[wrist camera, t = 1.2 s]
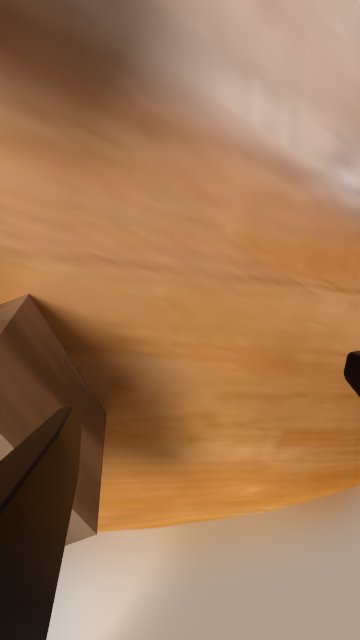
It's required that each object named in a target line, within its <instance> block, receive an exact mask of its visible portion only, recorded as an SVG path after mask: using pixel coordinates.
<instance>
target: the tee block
mask: <svg viewBox="0 0 360 640" xmlns="http://www.w3.org/2000/svg"><path fill="white" fill-rule="evenodd" d="M69 406H72V407H74V409H75V411H76V414H77V417H78V419H79V422H80V425H81V432H82V434H81V448H80V462H79V475H78V482H77V487H76V492H75V497H74V502H73V507H72V512H71V517H70V522H69V527H68V532H67V537H66V542H65V545H68V544H71V543H74V542H77V541H80V540H82V539H85V538H88V537H91V536H93V535H97V525H98V512H99V500H100V487H101V474H102V461H103V449H104V436H105V423H106V413H105V411H104V410H103V408H102V406H101V405H100V403H99V402H98V400H97V399H96V397H95V396H94V394H93V392H92V391H91V389H90V388H89V386H88V385H87V383H86V382H85V380H84V379H83V377H82V375H81V374H80V372H79V371H78V369H77V368H76V366H75V365H74V363H73V361H72V360H71V358H70V357H69V355H68V354H67V352H66V351H65V349H64V348H63V346H62V344H61V343H60V341H59V340H58V338H57V337H56V335H55V334H54V332H53V331H52V329H51V327H50V326H49V324H48V323H47V321H46V320H45V318H44V317H43V315H42V313H41V312H40V310H39V309H38V307H37V306H36V304H35V303H34V301H33V300H32V298H31V296H30V295H29V294H28V295H25V296H22V297H19V298H17V299H14V300H11V301H9V302H6V303H3V304H0V461H1V460H2V459H3V458H4V457H5V456H6V455H7V454H8V453H10V452H11V451H12V450H13V449H14V448H15V447H16V446H18V445H19V444H20V443H21V442H22V441H23V440H24V439H25V438H27V437H28V436H29V435H30V434H31V433H32V432H33V431H35V430H36V429H37V428H38V427H39V426H40V425H41V424H42V423H44V422H45V421H46V420H47V419H48V418H49V417H50V416H51V415H53V414H54V413H55V412H56V411H57V410H58V409H60V408H64V407H69Z"/></svg>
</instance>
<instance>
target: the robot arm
mask: <svg viewBox="0 0 360 640" xmlns="http://www.w3.org/2000/svg"><path fill="white" fill-rule="evenodd" d="M344 376H345V379H346V381H347V382H348V383H349V384H350V386H351V387H352V388H353V389H354V391H355V392H356V393H357V394H358V396H359V397H360V351H354V352H350V353H349V354H348V355H347V359H346V364H345V368H344ZM81 434H82V432H81V425H80V422H79V419H78V417H77V414H76V411H75V409H74V407H72V406H69V407H64V408H60V409H58V410H57V411H56V412H55V413H54V414H53V415H51V416H50V417H49V418H48V419H47V420H46V421H45V422H44V423H42V424H41V425H40V426H39V427H38V428H37V429H36V430H35V431H33V432H32V433H31V434H30V435H29V436H28V437H27V438H25V439H24V440H23V441H22V442H21V443H20V444H19V445H18V446H16V447H15V448H14V449H13V450H12V451H11V452H10V453H8V454H7V455H6V456H5V457H4V458H3V459H2V460H1V461H0V640H46V638H47V632H48V628H49V623H50V618H51V613H52V608H53V603H54V598H55V593H56V587H57V583H58V578H59V573H60V567H61V562H62V557H63V552H64V547H65V542H66V537H67V532H68V527H69V522H70V517H71V512H72V507H73V502H74V497H75V492H76V487H77V482H78V475H79V462H80V448H81Z"/></svg>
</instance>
